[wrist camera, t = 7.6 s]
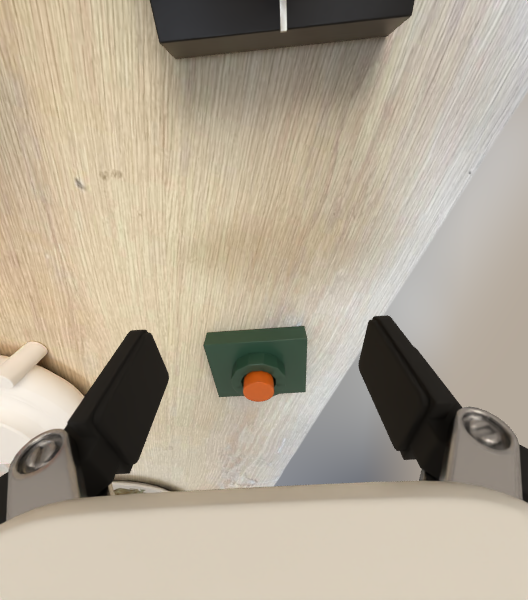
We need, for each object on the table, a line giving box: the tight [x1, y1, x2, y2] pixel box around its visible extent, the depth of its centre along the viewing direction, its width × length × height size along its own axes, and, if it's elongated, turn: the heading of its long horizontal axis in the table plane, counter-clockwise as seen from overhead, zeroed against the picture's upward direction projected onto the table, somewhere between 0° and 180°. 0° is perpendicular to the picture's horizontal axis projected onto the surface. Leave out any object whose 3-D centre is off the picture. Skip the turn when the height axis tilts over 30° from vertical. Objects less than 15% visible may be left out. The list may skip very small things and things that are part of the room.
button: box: [243, 371, 274, 402], centre depth 28 cm, size 4×4×2 cm
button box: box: [204, 326, 307, 397], centre depth 30 cm, size 12×10×4 cm
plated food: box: [112, 481, 171, 495], centre depth 58 cm, size 30×30×3 cm
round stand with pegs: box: [0, 341, 84, 464], centre depth 32 cm, size 24×24×7 cm
